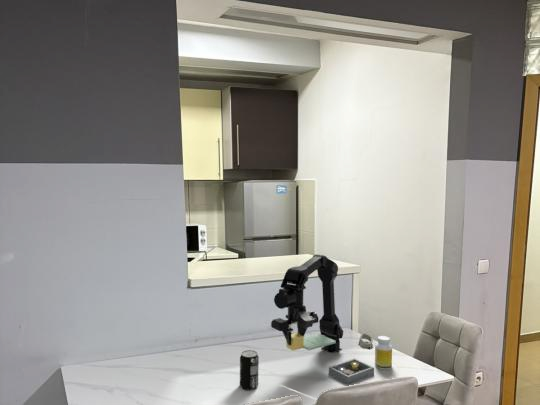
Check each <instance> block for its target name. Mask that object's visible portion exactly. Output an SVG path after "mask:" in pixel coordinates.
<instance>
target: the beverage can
mask: <svg viewBox="0 0 540 405" xmlns="http://www.w3.org/2000/svg"><path fill="white" fill-rule="evenodd" d="M259 360H260V359H259V355H258V352H257V351H256V350H250V349H247V350H243V351H241V353H240V357H239V387H240V388H241V389H242V390H244V391H253V390H256V389H257V387H258V386H259V369H260V368H259V364H260V363H259Z"/></svg>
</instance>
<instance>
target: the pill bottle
mask: <svg viewBox="0 0 540 405" xmlns="http://www.w3.org/2000/svg"><path fill="white" fill-rule="evenodd" d="M390 342H391V338H390V337H388V336H386V335H379V336H377V342H376V343H375V345H374V365H375V367H376V368H378V369H379V370H390V369H391V368H392V364H393V360H392V359H393V346H392V344H390Z"/></svg>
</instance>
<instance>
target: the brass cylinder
mask: <svg viewBox="0 0 540 405" xmlns="http://www.w3.org/2000/svg"><path fill="white" fill-rule="evenodd" d="M351 370H352V371H358V370H359V363H357V362H351Z"/></svg>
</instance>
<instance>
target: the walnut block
mask: <svg viewBox="0 0 540 405" xmlns="http://www.w3.org/2000/svg"><path fill="white" fill-rule="evenodd" d="M343 373H344V374H346V375H351V374H354V372H353V371H350V370H346V371H344V372H343Z"/></svg>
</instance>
